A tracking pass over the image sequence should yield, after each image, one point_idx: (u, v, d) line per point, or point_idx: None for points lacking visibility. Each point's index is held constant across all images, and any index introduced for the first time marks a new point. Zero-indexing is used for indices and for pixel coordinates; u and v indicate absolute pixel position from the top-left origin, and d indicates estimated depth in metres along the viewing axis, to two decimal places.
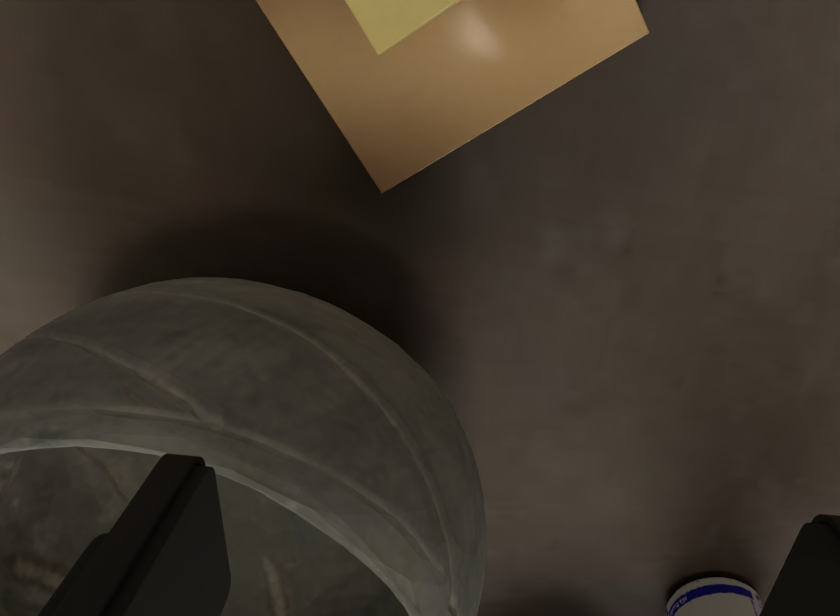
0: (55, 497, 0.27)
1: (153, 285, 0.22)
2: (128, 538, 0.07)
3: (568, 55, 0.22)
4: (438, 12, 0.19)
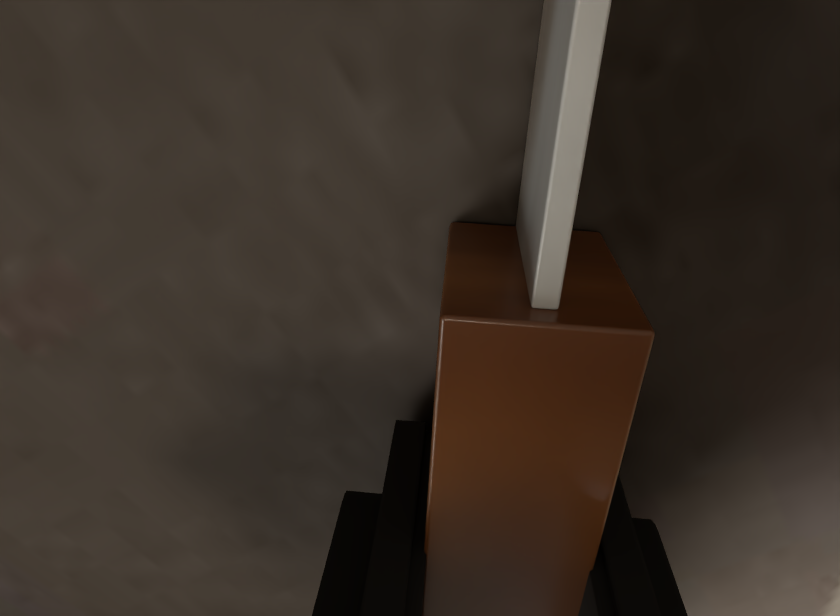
0: None
1: None
2: (404, 489, 0.08)
3: None
4: None
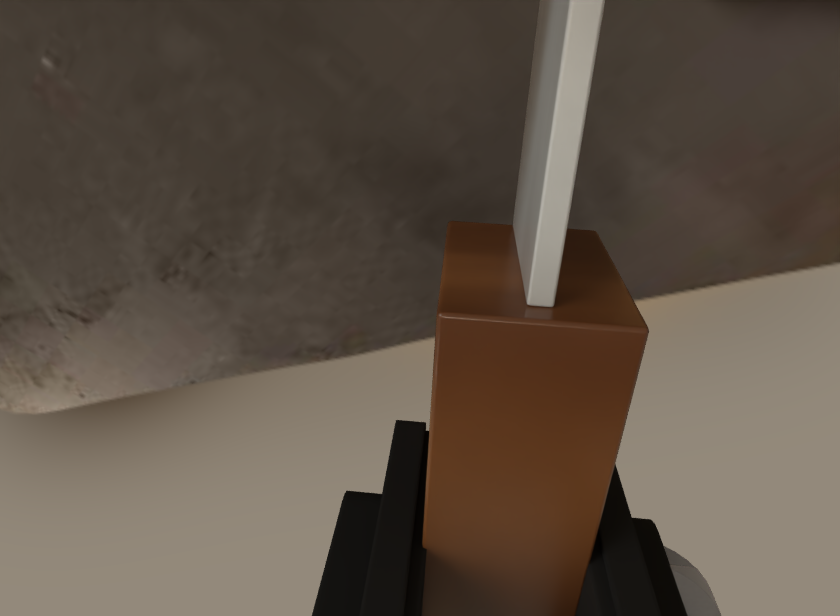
0: None
1: None
2: (404, 489, 0.08)
3: None
4: None
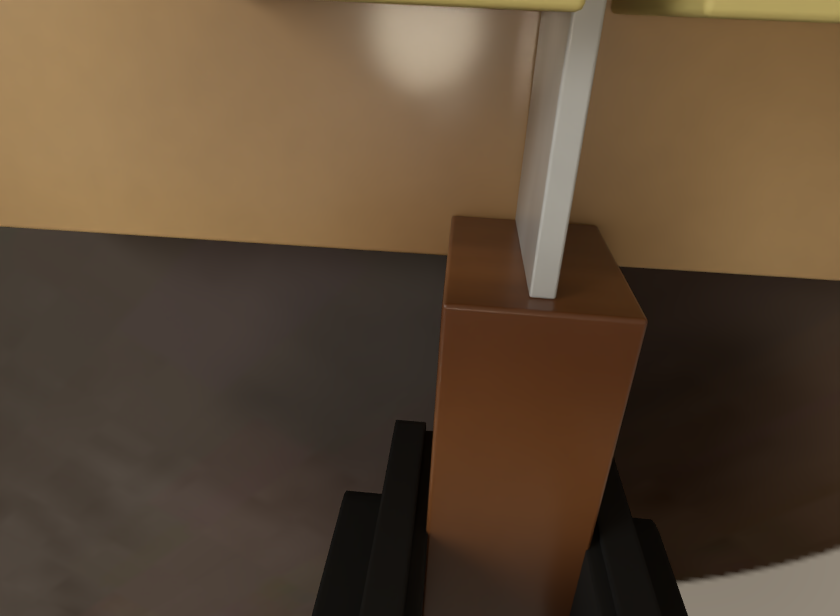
0: None
1: None
2: (404, 489, 0.08)
3: None
4: None
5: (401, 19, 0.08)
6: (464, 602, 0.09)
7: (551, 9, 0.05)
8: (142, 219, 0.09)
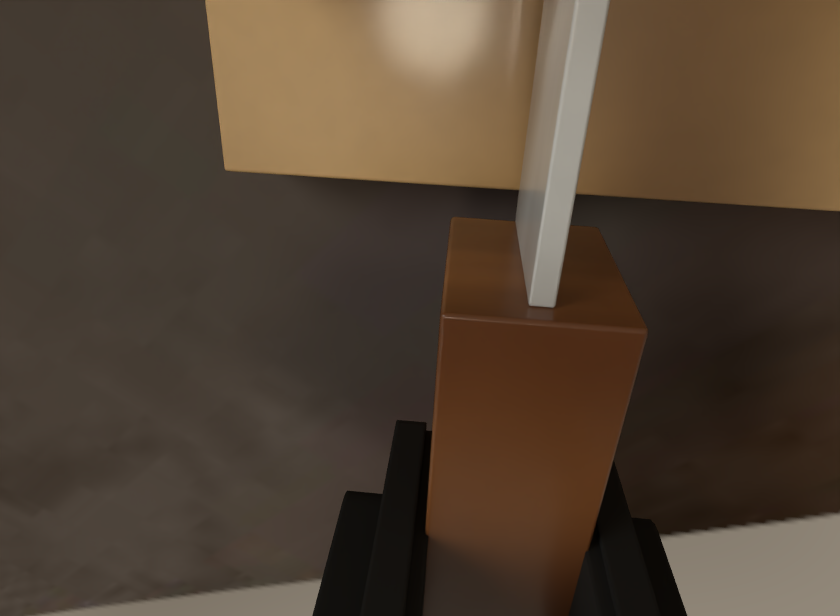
0: None
1: None
2: (405, 489, 0.08)
3: None
4: None
5: None
6: (463, 603, 0.09)
7: None
8: (368, 164, 0.10)
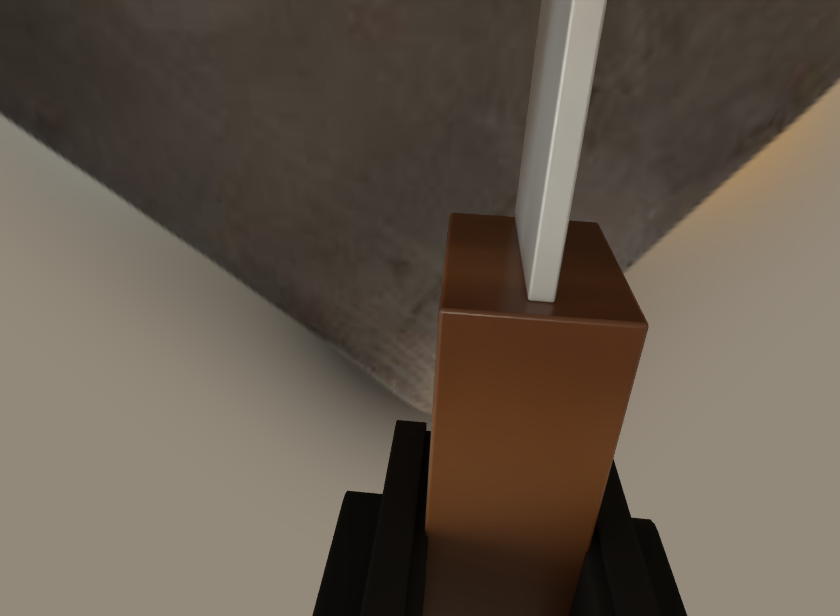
0: None
1: None
2: (405, 489, 0.08)
3: None
4: None
5: None
6: (464, 601, 0.09)
7: None
8: None
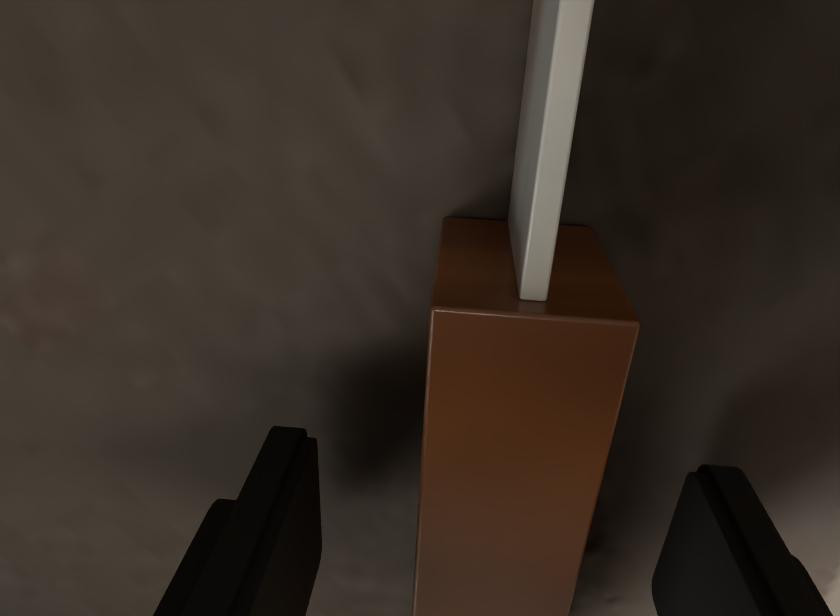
0: None
1: None
2: (259, 498, 0.08)
3: None
4: None
5: None
6: (456, 611, 0.08)
7: None
8: None
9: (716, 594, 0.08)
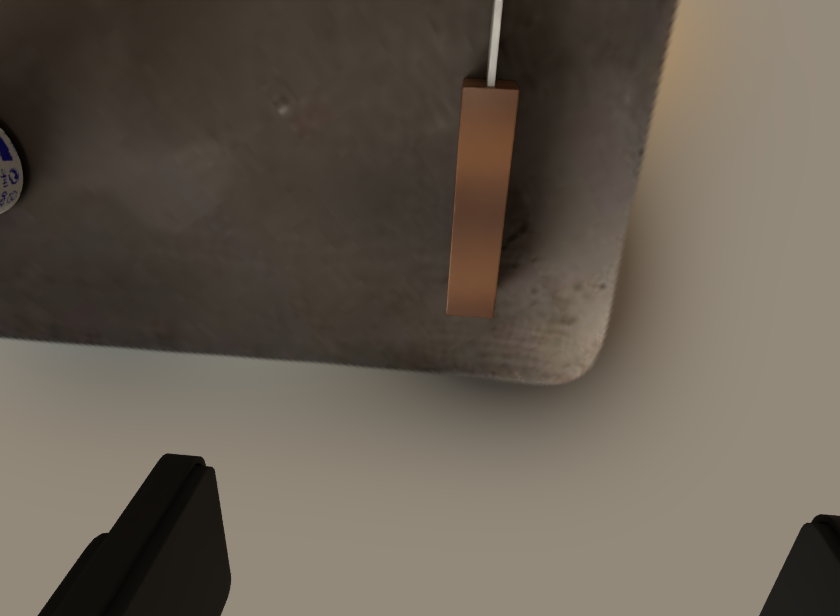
0: None
1: None
2: (128, 538, 0.07)
3: None
4: None
5: None
6: (468, 207, 0.25)
7: None
8: None
9: None
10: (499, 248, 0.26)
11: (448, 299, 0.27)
